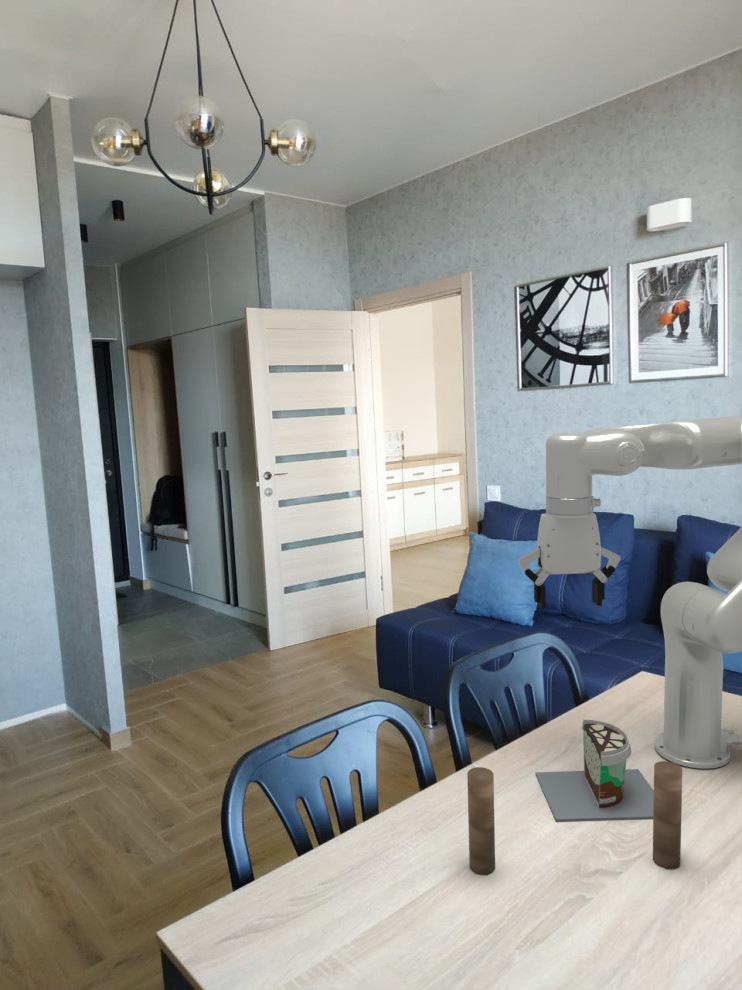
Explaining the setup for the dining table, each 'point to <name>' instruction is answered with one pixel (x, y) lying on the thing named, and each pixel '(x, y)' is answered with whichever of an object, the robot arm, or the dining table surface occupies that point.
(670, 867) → the walnut post
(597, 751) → the food container
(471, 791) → the walnut post
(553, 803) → the charcoal mat
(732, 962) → the dining table surface
